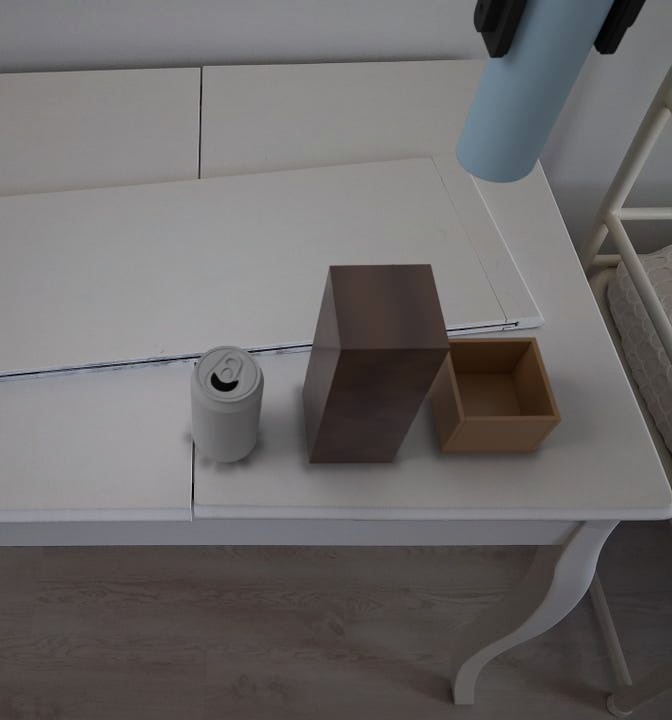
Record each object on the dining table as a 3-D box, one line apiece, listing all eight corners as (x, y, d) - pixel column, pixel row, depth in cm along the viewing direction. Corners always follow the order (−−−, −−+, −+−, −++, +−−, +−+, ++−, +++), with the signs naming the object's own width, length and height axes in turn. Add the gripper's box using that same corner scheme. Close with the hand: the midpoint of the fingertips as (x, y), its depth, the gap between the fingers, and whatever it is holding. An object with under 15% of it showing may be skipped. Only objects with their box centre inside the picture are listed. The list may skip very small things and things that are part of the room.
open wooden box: (511, 372, 75) (535, 336, 69) (534, 451, 70) (561, 420, 64) (424, 373, 75) (441, 338, 69) (440, 452, 70) (460, 421, 64)
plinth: (380, 391, 74) (430, 263, 57) (392, 462, 69) (450, 348, 53) (302, 392, 74) (329, 265, 57) (309, 463, 70) (340, 349, 53)
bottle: (538, 139, 44) (645, -90, 33) (530, 190, 41) (643, -37, 31) (460, 124, 45) (539, -103, 34) (449, 173, 42) (530, -53, 31)
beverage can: (182, 452, 70) (178, 390, 60) (206, 399, 74) (206, 332, 64) (244, 475, 69) (250, 415, 59) (265, 419, 72) (275, 354, 62)
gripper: (522, -484, 20) (387, 92, 35) (1163, -512, 19) (743, 81, 35) (462, -531, 24) (365, 3, 39) (990, -555, 23) (683, -7, 39)
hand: (544, 36), depth 37 cm, fingers closed on bottle, 4 cm apart
